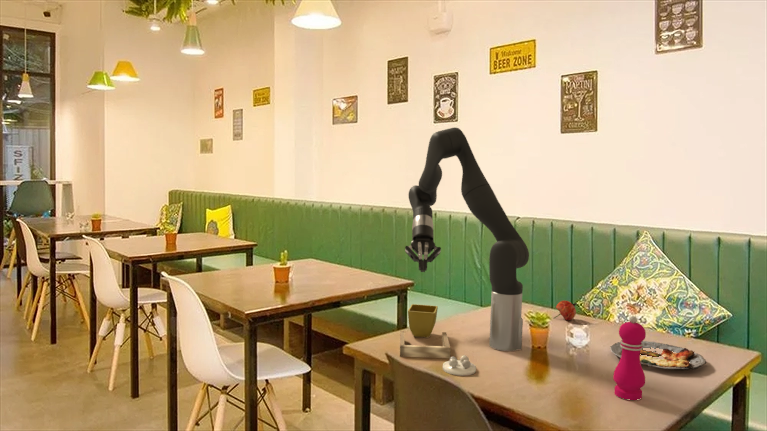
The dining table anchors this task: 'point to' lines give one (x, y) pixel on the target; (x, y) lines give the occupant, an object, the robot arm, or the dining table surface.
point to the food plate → (666, 356)
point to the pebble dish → (459, 366)
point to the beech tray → (425, 349)
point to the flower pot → (422, 319)
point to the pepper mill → (630, 361)
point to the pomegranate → (566, 309)
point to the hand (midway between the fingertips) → (423, 270)
